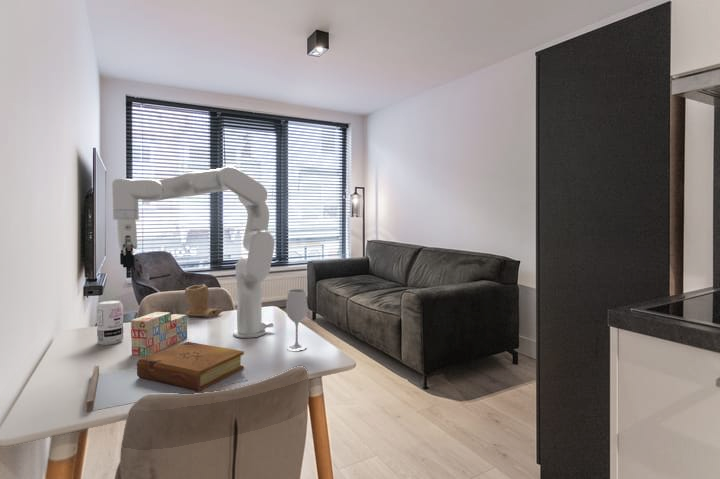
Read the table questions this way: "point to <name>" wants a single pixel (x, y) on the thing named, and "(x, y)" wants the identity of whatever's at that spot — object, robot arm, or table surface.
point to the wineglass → (296, 309)
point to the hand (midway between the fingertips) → (127, 265)
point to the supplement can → (109, 322)
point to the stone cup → (199, 301)
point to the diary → (190, 365)
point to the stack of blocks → (157, 332)
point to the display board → (133, 388)
